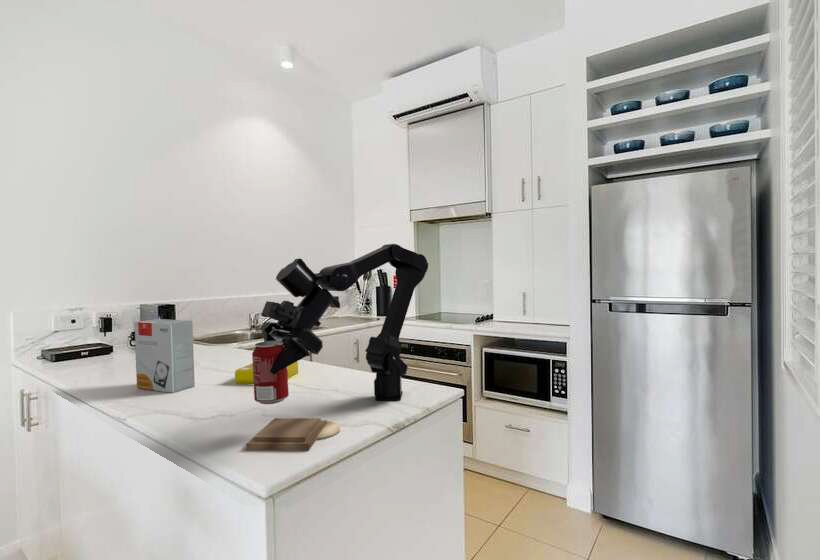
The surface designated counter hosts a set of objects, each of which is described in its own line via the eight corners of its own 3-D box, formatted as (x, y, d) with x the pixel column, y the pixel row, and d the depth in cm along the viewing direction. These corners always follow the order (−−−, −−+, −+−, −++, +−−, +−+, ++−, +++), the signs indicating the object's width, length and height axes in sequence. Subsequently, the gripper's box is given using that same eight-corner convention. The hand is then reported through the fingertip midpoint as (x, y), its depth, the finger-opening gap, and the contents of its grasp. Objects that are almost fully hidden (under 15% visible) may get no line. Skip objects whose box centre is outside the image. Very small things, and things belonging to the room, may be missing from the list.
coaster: (344, 423, 90) (344, 420, 90) (333, 440, 81) (333, 437, 81) (304, 423, 91) (303, 420, 91) (289, 440, 82) (288, 437, 82)
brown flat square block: (326, 425, 89) (326, 416, 89) (309, 450, 77) (308, 439, 77) (272, 425, 90) (272, 416, 90) (246, 449, 78) (246, 439, 78)
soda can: (274, 407, 82) (272, 346, 81) (247, 404, 84) (244, 345, 84) (295, 396, 88) (292, 340, 88) (269, 394, 90) (266, 339, 90)
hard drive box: (135, 389, 122) (132, 321, 122) (159, 382, 129) (157, 318, 129) (173, 393, 116) (170, 323, 116) (196, 386, 124) (193, 319, 123)
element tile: (300, 373, 137) (300, 359, 137) (278, 386, 122) (278, 370, 122) (258, 373, 140) (258, 359, 139) (232, 385, 125) (231, 369, 125)
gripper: (265, 286, 95) (218, 341, 88) (306, 287, 81) (253, 353, 74) (298, 317, 101) (256, 371, 93) (342, 322, 87) (296, 386, 80)
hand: (264, 370), depth 85 cm, fingers closed on soda can, 7 cm apart
